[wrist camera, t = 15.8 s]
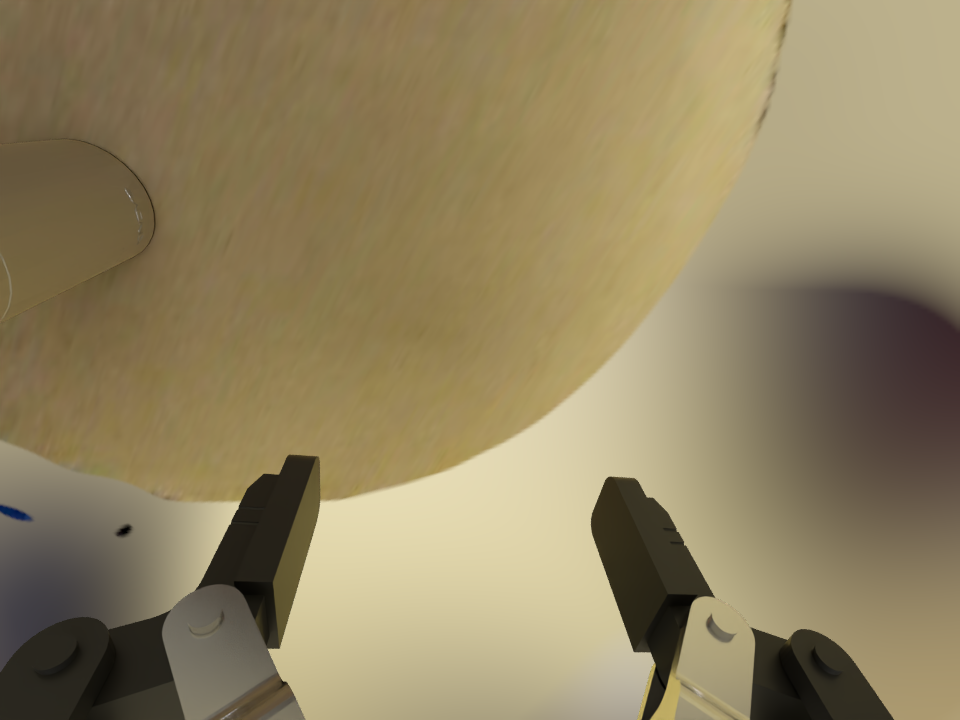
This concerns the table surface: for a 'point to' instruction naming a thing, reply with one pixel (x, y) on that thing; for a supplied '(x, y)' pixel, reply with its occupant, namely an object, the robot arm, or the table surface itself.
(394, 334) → the table surface
